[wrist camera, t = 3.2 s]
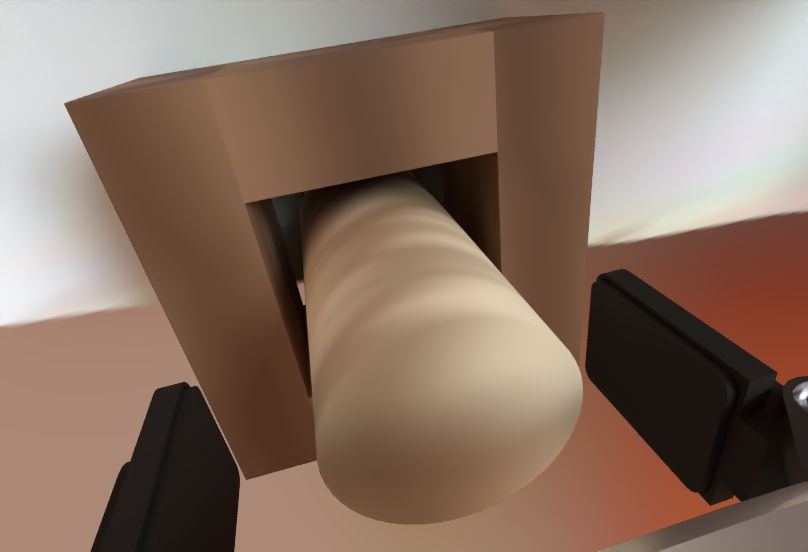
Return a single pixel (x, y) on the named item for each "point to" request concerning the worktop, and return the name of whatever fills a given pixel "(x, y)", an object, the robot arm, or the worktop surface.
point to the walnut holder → (340, 163)
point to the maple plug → (423, 359)
